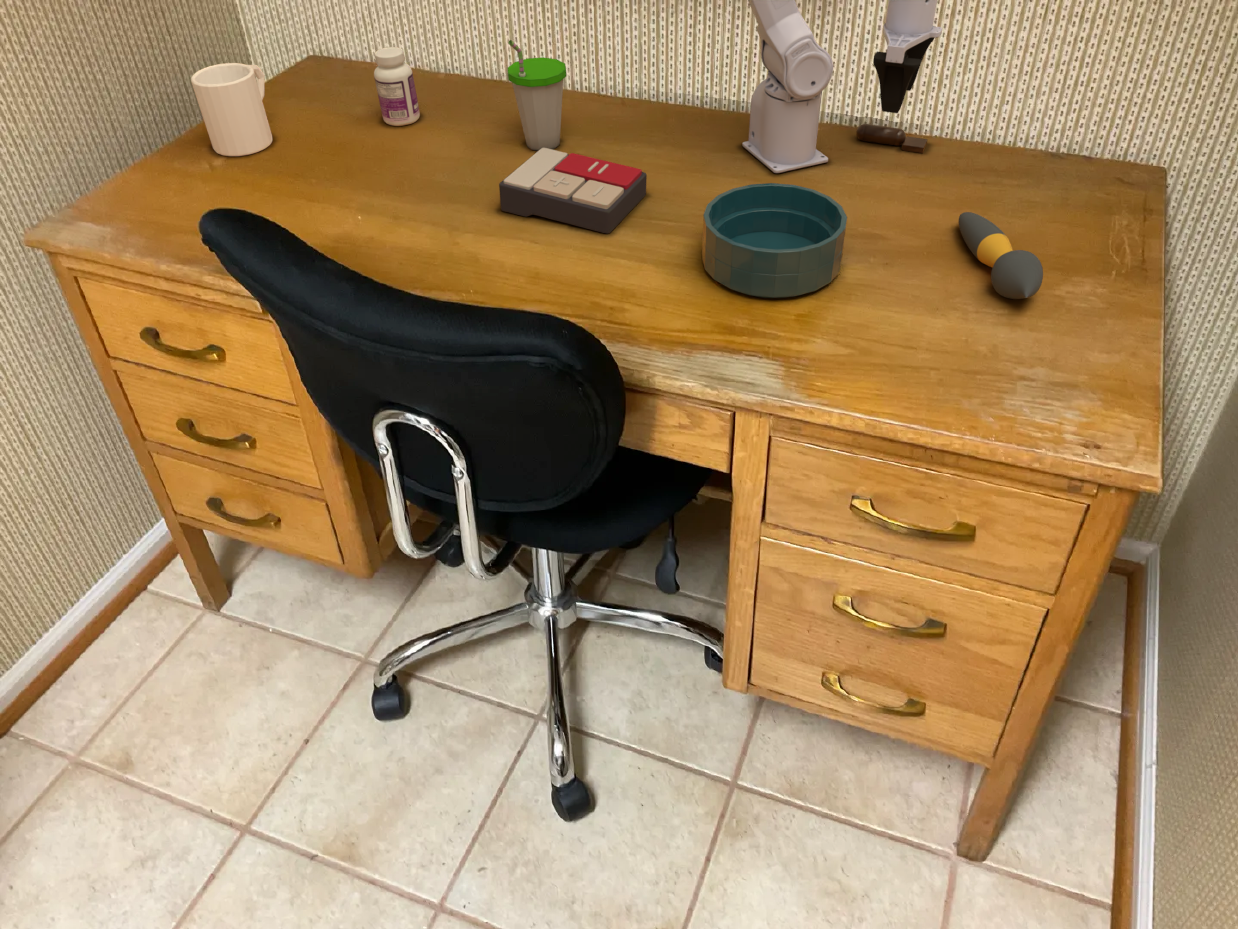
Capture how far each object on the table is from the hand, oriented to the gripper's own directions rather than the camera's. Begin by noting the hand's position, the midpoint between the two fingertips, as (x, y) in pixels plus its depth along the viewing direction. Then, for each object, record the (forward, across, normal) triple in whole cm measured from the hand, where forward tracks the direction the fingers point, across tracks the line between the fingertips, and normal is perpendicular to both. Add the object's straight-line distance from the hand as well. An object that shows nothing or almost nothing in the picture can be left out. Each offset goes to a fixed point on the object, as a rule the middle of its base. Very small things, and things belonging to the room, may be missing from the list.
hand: (896, 99), depth 126 cm
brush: (+6, 0, 0) cm, 6 cm away
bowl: (+6, -35, +6) cm, 36 cm away
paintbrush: (+6, -28, -17) cm, 33 cm away
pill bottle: (+6, -16, +67) cm, 70 cm away
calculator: (+6, -30, +32) cm, 45 cm away
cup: (+6, -16, +44) cm, 47 cm away
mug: (+6, -29, +84) cm, 89 cm away
